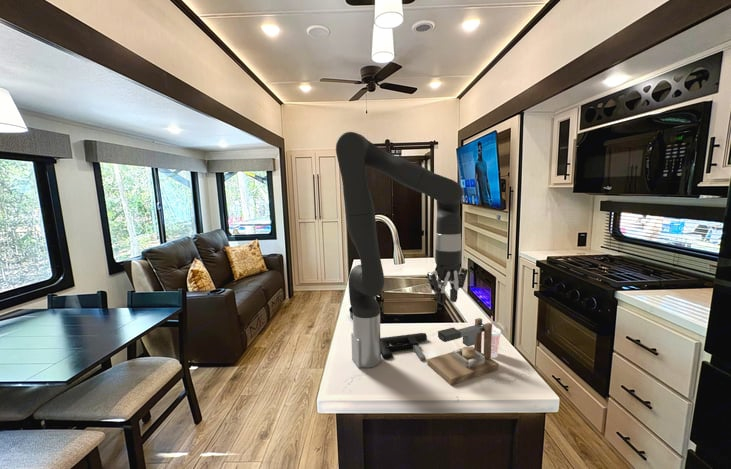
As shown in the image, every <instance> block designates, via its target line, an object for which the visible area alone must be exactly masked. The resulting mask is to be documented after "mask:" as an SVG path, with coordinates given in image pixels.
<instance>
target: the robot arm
mask: <svg viewBox="0 0 731 469" xmlns="http://www.w3.org/2000/svg"><path fill="white" fill-rule="evenodd" d="M335 153H336V154H335V155H336V157H337V162H338V166H339V168H338V169H339V172H340V175H341V176H340V177H341V182H342V191H343V201H344V202H343V203H344V213H345V221H346V229H347V231H348V235H349V237H350V239H351V241H352V242H353V245H354V247H355V249H356V251H357V253H358V255H359V261H360V264H357V265H355V266H354V267H353V268H352V269H351V270H350V273H349V275H348V295H349V303H350V304H349V305H350V307H351V310H352V330H353V331H352V332H351V335H350V336H351V337H350V338H351V358H352V359H351V360H352V361H353V362H354V364H355V366H356V367H357V368H358V369H360V368H365V369H366V368H367V369H368V368H374V367H377V366H379V364H380V363H381V362H382V360H381V359H382V355H381V342H380V338H381V305H380V303H379V302H378V301H377V300H376V298H375V297H378V296H379V295H380V294H382V291H383V289H384V286H385V274H384V269H383V265H382V260H381V255H380V249H379V242H378V241H379V240H378V235H377V234H378V233H377V222H376V212H375V205H374V201H373V198H372V195H371V192H370V189H369V186H368V182H367V176H366V167H368V168H370V169H374V170H376V171H378V172H380V173H382V174H384V176H385V175H386V176H387V177H389V178H391V179H392V180H394V181H395V182H397V183H398V184H401V185H403V186H404V187H407V188H409V189H411V190H414V191H416V192H417V193H421V194H424V195H426V196H428V197H430V198H432V199H434V200H435V201H436V212H437V213H436V214H437V215H436V226H435V227H436V229H435V230H436V231H435V232H436V233H435V234H436V235H435V247H434V248H435V252H434V253H435V255H434V262H435V264H436V265H435V268H434V271H431V272H427V274H426V275H427V279H428V283H429V285H430V286H429V287H430V289H431V290H432V291H434V292H436V301H437V303H438V304H439V305H442V306H444V305H445V290H446V287H447V286H448V283H449V285H450V288H449V301H451V302H452V303H456V302H457V300H458V294H459V293H458V291H459V290H460V289H462V288H464V285H465V282H466V279H467V275H468V272H469V270H468V269H467V268H464V267H461V265H460V264H461V263H462V236H461V232H462V231H461V228H462V227H461V226H462V221H461V219H462V218H461V216H460V201H461V200H462V198H463V194H464V192H463V187H462V185H461V184H460V183H459V182H457V181H456V180H453V179H451V178H448V177H445V176H443V175H440V174H437V173H435V172H433V171H431V170H429V169H428V168H426V167H423V166H421V165H420V164H419V165H418V164H416V163H414V162H412V161H409V160H407V159H404V158H401V157H399V156H396V155H394V154H391V153H389V152H388V151H385V150H383V149H382V148H380V147H379V146H377V145H375V144H373V142H371V141H369V140H368V139H367V138H366V137H365V136H364V135H362V134H361V133H358V132H355V131H354V132H353V131H346V132H343V133H342V134H340V136H339V137H338V138H337V141H336V144H335Z"/></svg>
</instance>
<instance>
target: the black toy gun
mask: <svg viewBox="0 0 731 469" xmlns="http://www.w3.org/2000/svg"><path fill="white" fill-rule="evenodd" d="M425 340H428V336H427V333H426V332H418V333H410V334H409V333H408V334H402V335H393V336H385V337H380V342H381V358H382V359H384V360H390V359H392V358H393V356H394V355H393V353H395V352H402V351H403V352H404V351H410V350H411V349H412V350H414V351H413V352H414V353H416V354H415V355H416V357H417V358H418V359H419V361H420V362H425V361H426V356H425V354H424V353H423V352H422V350H421V349H420V347H419V342H424V341H425Z"/></svg>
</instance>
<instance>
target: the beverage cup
mask: <svg viewBox="0 0 731 469" xmlns="http://www.w3.org/2000/svg"><path fill="white" fill-rule="evenodd" d="M493 318H494V317H493V315H491V316H490V323H491V324H492V325H493V320H494V319H493ZM501 333H502V330H501V329H500V328H499V327H495V326H492V339H491V359H493V358H497V357H498V352H499V345H500V337H501V336H500V335H501ZM482 341H483V342H482V346H483V348H482V349H483V352H482V353H484V332H482Z"/></svg>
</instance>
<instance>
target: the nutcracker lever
mask: <svg viewBox="0 0 731 469" xmlns="http://www.w3.org/2000/svg"><path fill="white" fill-rule="evenodd" d="M484 326H485V323H483V322H482V323H480V324H478V325H475V324H474V325H470V326H466V327H462V328H455V327H449V328H446V329H441V330H438V331H437V338H438V339H439V340H440V341H442V342H444V343H447V342H451V341H455V340H458V339H461V338H462V344H463V345H464V346H465V347H473V346H474V345H475V334H476V333H480V332H482V333H483V332H484Z"/></svg>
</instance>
